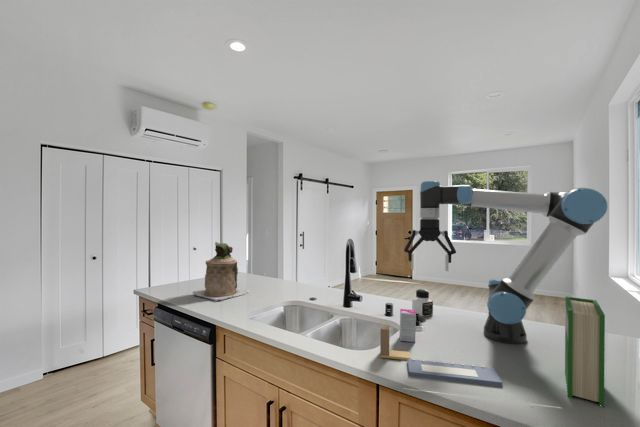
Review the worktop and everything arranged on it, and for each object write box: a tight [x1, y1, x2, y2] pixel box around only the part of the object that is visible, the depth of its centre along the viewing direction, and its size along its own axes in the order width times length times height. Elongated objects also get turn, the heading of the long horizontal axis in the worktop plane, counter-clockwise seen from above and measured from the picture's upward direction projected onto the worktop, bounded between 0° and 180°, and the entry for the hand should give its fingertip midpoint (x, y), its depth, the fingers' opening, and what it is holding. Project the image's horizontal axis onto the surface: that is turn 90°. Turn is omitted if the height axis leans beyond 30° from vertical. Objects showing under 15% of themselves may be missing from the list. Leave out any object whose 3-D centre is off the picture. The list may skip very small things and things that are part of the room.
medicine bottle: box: [411, 289, 434, 318], centre depth 157 cm, size 7×7×12 cm
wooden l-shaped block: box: [379, 323, 411, 361], centre depth 110 cm, size 10×5×10 cm, turn 77°
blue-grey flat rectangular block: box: [407, 358, 503, 388], centre depth 98 cm, size 26×9×2 cm, turn 77°
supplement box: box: [399, 308, 417, 344], centre depth 125 cm, size 6×6×12 cm
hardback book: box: [564, 296, 606, 407], centre depth 91 cm, size 18×7×24 cm, turn 144°
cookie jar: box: [192, 241, 249, 302], centre depth 192 cm, size 25×25×32 cm
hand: (429, 270), depth 131 cm, fingers open, 13 cm apart
